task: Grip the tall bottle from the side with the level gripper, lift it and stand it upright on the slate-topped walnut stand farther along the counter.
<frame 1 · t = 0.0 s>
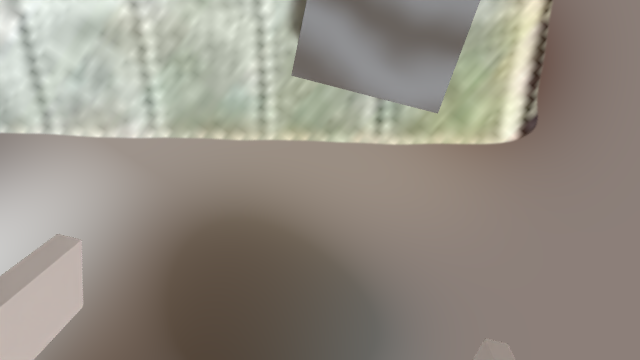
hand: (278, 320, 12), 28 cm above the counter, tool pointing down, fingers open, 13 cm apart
slate stand: (383, 14, 34), on the counter
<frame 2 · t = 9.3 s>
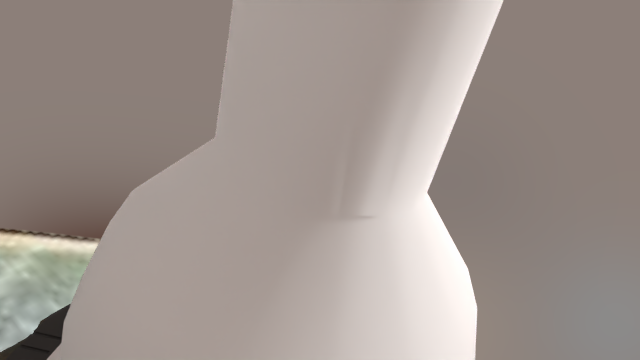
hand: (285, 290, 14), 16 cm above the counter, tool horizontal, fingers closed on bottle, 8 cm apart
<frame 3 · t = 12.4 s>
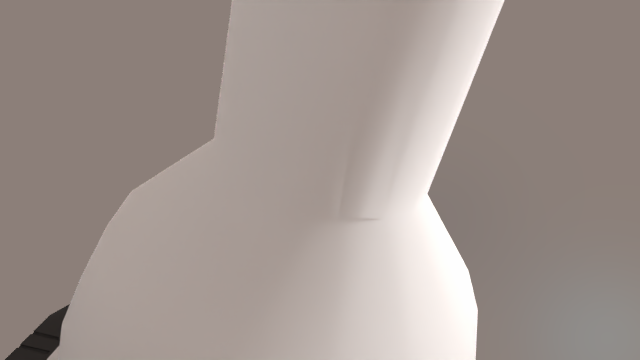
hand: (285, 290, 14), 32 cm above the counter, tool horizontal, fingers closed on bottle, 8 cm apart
when the fingers open (22 cm above the counter, at t = 15.9 s): bottle drops 1 cm, resting on slate stand.
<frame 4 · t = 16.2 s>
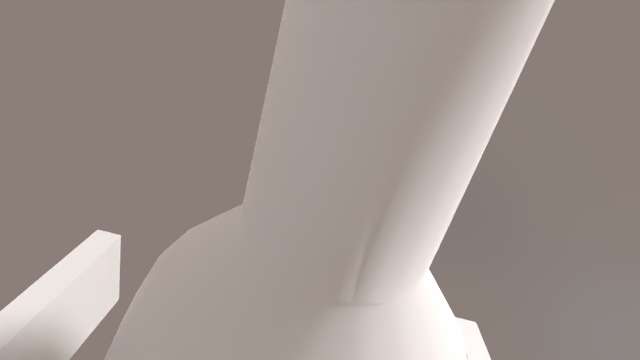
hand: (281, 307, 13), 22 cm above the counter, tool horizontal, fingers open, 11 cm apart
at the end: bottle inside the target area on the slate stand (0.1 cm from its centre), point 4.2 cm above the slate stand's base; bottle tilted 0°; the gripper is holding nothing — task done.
